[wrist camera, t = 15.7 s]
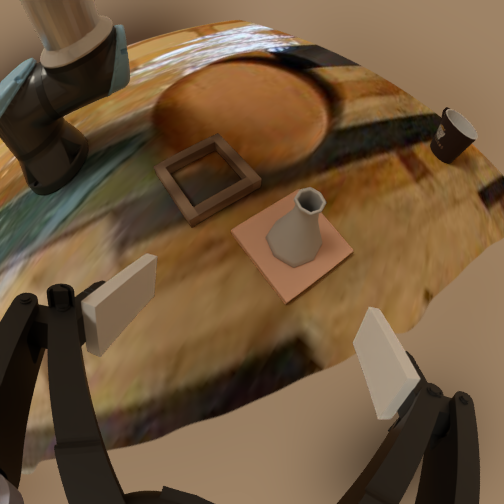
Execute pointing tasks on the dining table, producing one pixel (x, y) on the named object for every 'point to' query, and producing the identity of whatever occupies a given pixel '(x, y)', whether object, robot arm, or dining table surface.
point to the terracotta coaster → (276, 271)
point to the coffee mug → (452, 136)
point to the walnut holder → (218, 200)
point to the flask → (298, 230)
